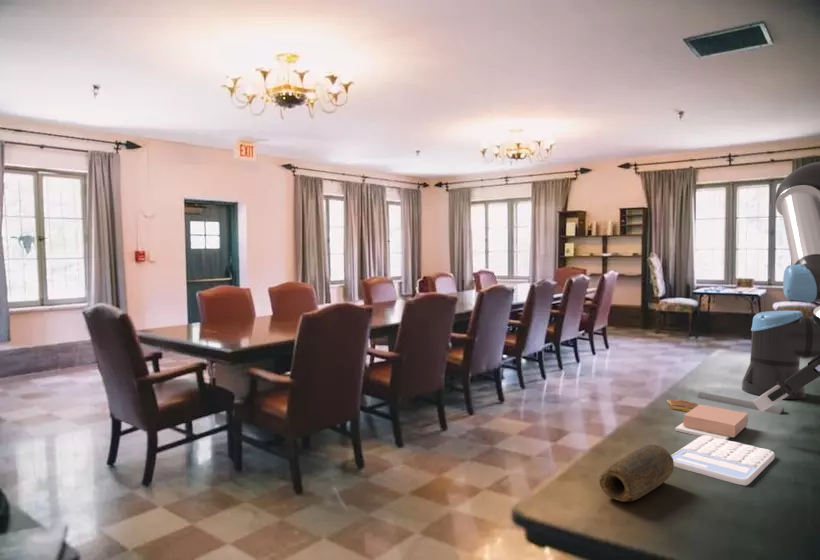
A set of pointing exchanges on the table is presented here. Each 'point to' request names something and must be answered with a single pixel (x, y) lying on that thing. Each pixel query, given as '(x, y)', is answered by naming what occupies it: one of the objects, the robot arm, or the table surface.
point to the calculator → (723, 459)
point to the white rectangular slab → (698, 432)
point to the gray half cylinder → (737, 402)
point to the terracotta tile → (716, 420)
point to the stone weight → (637, 473)
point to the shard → (681, 405)
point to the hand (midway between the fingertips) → (757, 406)
